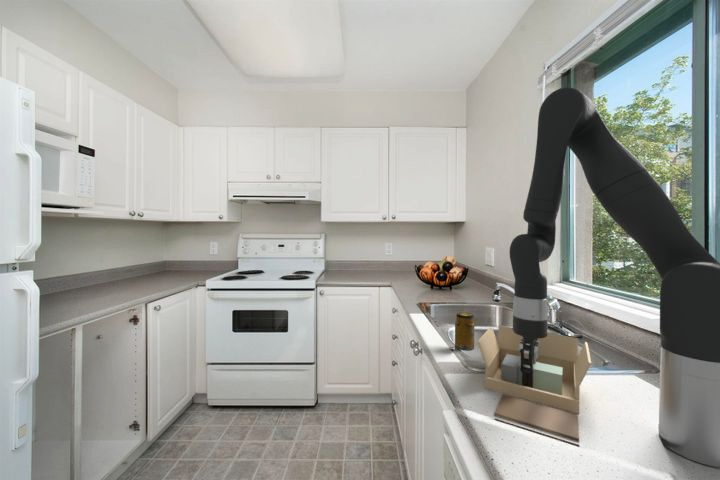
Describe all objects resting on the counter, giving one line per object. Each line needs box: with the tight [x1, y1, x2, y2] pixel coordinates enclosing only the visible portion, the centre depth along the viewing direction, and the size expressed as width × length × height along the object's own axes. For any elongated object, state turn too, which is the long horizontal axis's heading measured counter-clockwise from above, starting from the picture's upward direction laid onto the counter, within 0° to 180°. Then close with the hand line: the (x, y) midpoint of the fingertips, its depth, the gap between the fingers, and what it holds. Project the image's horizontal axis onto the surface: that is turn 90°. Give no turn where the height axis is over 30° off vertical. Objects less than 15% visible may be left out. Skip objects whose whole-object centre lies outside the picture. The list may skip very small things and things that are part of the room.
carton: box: [477, 325, 592, 415], centre depth 76 cm, size 22×18×12 cm
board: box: [494, 393, 580, 448], centre depth 63 cm, size 14×9×2 cm, turn 56°
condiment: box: [448, 311, 475, 352], centre depth 100 cm, size 7×8×12 cm
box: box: [501, 354, 563, 395], centre depth 76 cm, size 12×8×5 cm, turn 56°
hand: (528, 383), depth 76 cm, fingers closed on box, 5 cm apart
